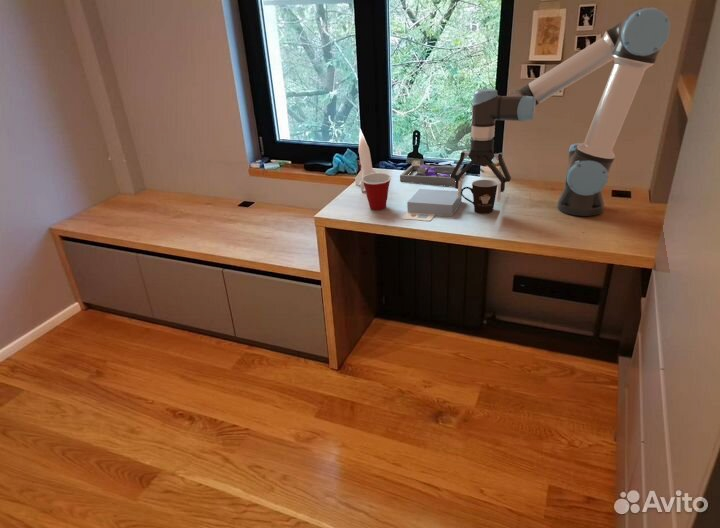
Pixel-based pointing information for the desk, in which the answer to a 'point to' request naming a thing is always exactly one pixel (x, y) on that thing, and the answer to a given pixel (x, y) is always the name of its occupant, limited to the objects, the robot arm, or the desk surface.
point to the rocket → (364, 161)
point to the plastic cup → (377, 189)
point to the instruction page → (418, 216)
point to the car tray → (430, 179)
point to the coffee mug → (483, 195)
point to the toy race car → (429, 171)
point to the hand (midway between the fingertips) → (478, 199)
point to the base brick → (434, 202)
